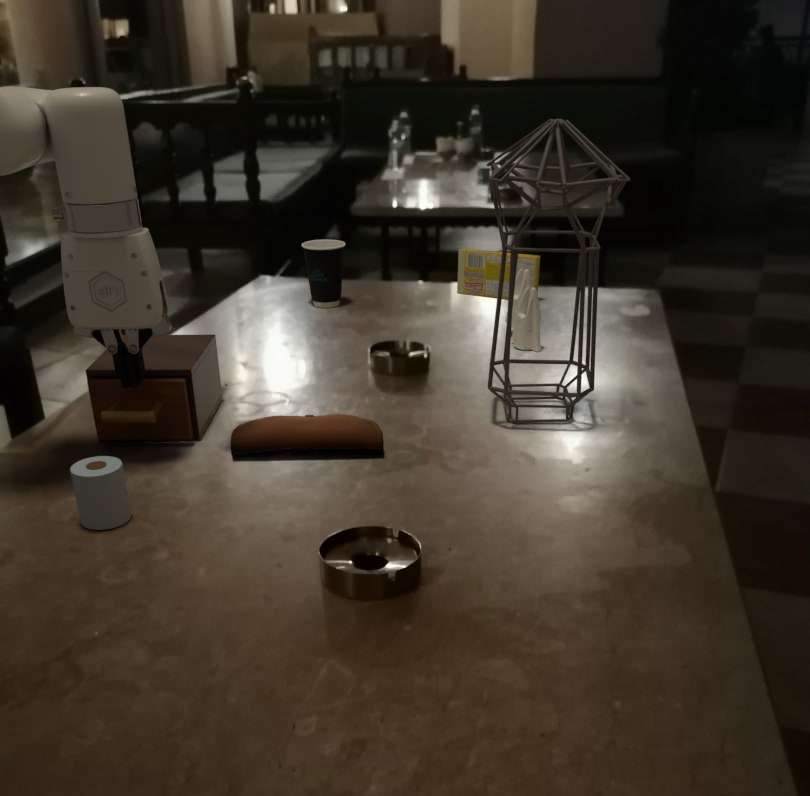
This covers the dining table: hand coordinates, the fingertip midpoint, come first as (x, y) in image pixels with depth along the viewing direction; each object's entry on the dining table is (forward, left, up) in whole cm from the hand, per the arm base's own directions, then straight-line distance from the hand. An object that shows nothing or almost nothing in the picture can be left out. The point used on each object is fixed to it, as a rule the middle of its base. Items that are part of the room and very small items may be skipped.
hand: (132, 384), depth 104 cm
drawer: (0, +6, -8) cm, 10 cm away
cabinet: (0, +11, -9) cm, 14 cm away
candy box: (+48, +74, -9) cm, 88 cm away
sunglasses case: (+20, +2, -9) cm, 22 cm away
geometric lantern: (+49, +13, -9) cm, 51 cm away
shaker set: (+50, +45, -9) cm, 68 cm away
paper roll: (+1, -17, -9) cm, 19 cm away
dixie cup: (+16, +69, -9) cm, 71 cm away
